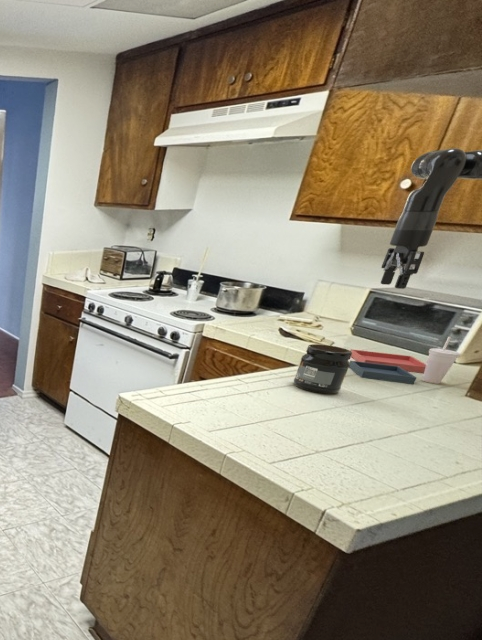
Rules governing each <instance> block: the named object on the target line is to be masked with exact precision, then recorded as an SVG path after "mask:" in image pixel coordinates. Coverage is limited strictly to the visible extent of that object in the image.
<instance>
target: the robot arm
mask: <svg viewBox="0 0 482 640" xmlns="http://www.w3.org/2000/svg"><path fill="white" fill-rule="evenodd" d="M410 171H411V174H412V175H413V176H414V177H415V178H417V179H421V180H425V182H423V185H422V186H420V187H418V188H416V189H414V190H412V191H411V192H410V193H409V194H408V196H407V199H406V201H405V203H404V207H403V209H402V212H401V215H400V216H399V218H398V220H397V222H396V225H395V228H394V231H393V233H392V237H391V239H390V241H389V245H390V246H393V247H388V249H387V252H386V253H385V256H384V259H383V261H382V264H381V267H380V268H381V269H383V271H384V272H383V275H382V277H381V279H380V284H381V285H386V286H387V285H388V286H389V285H391V284H392V282H393V280H394V277H395V274H396V271H397V270H398V269H399V274H398V277H397V279H396V282H395V285H394V288H395V289H399V290H400V289H402V290H403V289H406V288H407V286H408V283H409V281H410V278H411V276H413V275H416V274H418V272H419V270H420V266H421V265H422V261H423V258H424V255H425V251H418V250H419V248H420V247H421V248H422V247H426V246H428V244H429V241H430V238H431V237H432V233H433V231H434V229H435V225H436V223H437V220H438V216H439V212H440V210H441V207H442V204H443V202H444V199H445V196H446V195H447V193H448V192H449V190H450V189H451V188H452V187H453V185H454V184H455V183H456V181H457V180H458V179H463V180H482V149H478V150H471V151H464V150H463V149H461V148H457V147H456V148H447V149H446V148H445V149H438V150H431V151H428V152H425V153H423V154H421V155H419V156H418V157H417V158H415V160H413V162H412V164H411V166H410Z"/></svg>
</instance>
